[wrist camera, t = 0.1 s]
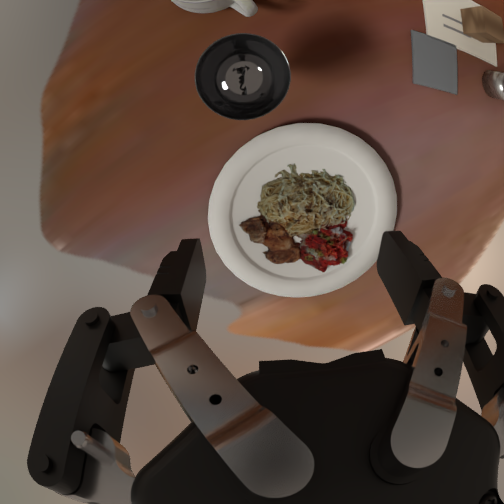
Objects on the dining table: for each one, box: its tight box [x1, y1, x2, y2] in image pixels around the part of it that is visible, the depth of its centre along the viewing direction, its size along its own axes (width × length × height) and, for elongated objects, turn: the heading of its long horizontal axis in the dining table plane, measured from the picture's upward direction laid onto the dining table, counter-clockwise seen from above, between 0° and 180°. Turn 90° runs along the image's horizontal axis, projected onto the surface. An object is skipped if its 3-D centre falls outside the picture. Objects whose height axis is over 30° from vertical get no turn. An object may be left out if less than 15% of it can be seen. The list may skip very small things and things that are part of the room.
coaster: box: [411, 30, 457, 95], centre depth 28 cm, size 9×9×1 cm
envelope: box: [423, 0, 497, 67], centre depth 22 cm, size 12×17×1 cm
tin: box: [482, 70, 504, 100], centre depth 25 cm, size 5×5×6 cm
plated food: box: [208, 123, 397, 297], centre depth 42 cm, size 30×30×3 cm
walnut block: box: [460, 6, 504, 43], centre depth 19 cm, size 5×5×6 cm
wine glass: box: [195, 33, 291, 120], centre depth 26 cm, size 8×8×15 cm
